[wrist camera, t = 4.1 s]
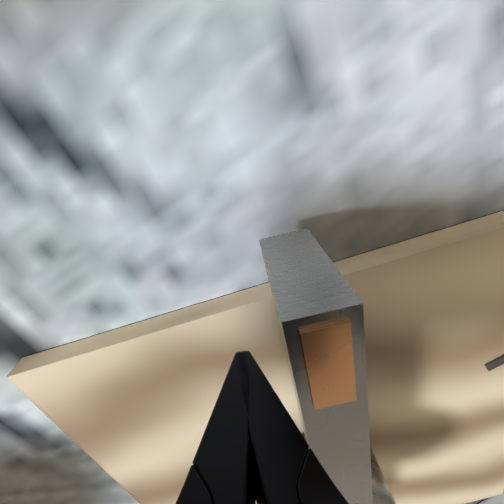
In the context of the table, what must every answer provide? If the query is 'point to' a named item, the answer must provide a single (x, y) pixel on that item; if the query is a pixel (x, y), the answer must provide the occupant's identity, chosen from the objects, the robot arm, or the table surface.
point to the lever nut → (326, 361)
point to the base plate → (278, 374)
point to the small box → (494, 500)
